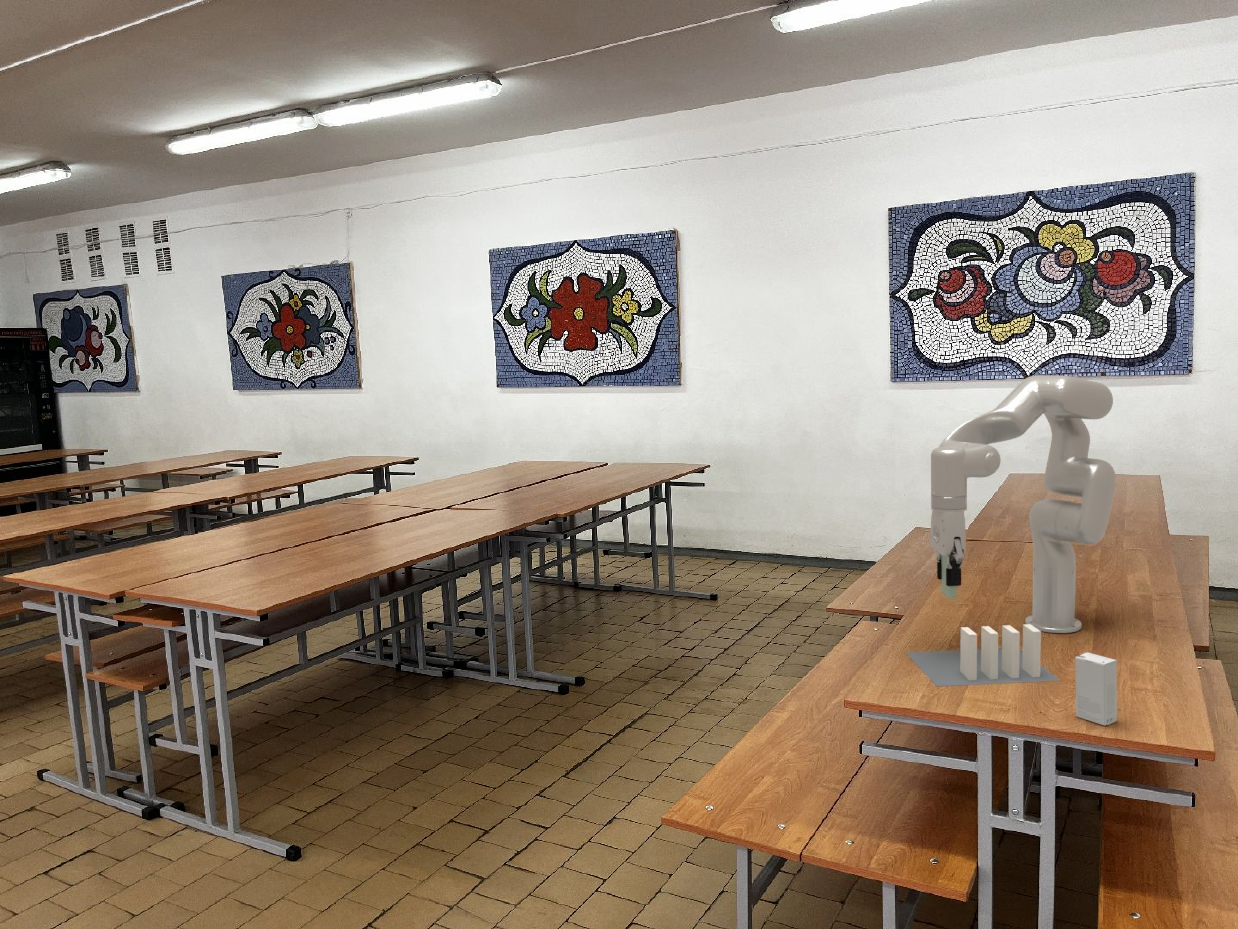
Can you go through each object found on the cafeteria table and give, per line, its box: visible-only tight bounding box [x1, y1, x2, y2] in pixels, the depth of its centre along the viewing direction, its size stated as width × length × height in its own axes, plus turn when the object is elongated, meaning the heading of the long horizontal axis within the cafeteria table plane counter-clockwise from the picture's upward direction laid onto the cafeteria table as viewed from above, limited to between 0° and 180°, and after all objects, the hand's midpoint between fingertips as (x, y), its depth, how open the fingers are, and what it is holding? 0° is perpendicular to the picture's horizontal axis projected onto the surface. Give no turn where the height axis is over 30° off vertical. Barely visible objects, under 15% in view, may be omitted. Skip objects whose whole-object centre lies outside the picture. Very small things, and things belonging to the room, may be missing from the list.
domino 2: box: [980, 625, 999, 679], centre depth 200 cm, size 2×5×10 cm, turn 0°
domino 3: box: [1001, 624, 1021, 678], centre depth 200 cm, size 2×5×10 cm, turn 0°
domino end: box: [941, 552, 958, 600], centre depth 210 cm, size 2×5×10 cm, turn 0°
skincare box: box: [1074, 652, 1118, 727], centre depth 176 cm, size 6×4×12 cm
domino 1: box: [960, 626, 978, 680], centre depth 200 cm, size 2×5×10 cm, turn 0°
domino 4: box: [1022, 623, 1042, 677], centre depth 200 cm, size 2×5×10 cm, turn 1°
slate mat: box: [905, 647, 1062, 688], centre depth 206 cm, size 26×21×1 cm
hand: (949, 581), depth 210 cm, fingers closed on domino end, 4 cm apart
